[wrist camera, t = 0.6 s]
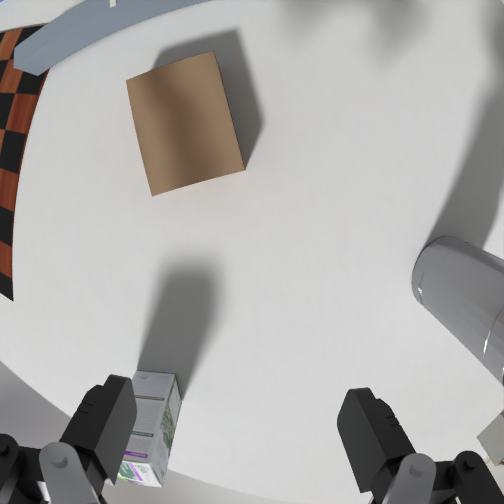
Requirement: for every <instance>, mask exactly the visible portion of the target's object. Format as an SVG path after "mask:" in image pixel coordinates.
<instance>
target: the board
mask: <svg viewBox="0 0 504 504" xmlns="http://www.w3.org/2000/svg"><path fill="white" fill-rule="evenodd" d="M205 1H210V0H87V1H85V2H83V3H81V4H79V5H77V6H76V7H74V8H72V9H70V10H69V11H67V12H65V13H64V14H62V15H61V16H59V17H57V18H56V19H54V20H53V21H51V22H50V23H48V24H47V25H45V26H44V27H42V28H41V29H39V30H38V31H36V32H35V33H34V34H32V35H31V36H30V37H28V38H27V39H26V40H24V41H23V42H22V43H20V44H19V45H18V46H17V47H15V48H14V68H16V69H19V70H22V71H25V72H28V73H31V74H34V75H37V76H39V75H40V74H42V73H43V72H45V71H46V70H48V69H49V68H51V67H52V66H54V65H55V64H57V63H59V62H60V61H62V60H63V59H65V58H67V57H68V56H70V55H72V54H74V53H75V52H77V51H79V50H81V49H83V48H85V47H86V46H88V45H90V44H92V43H94V42H96V41H98V40H100V39H102V38H104V37H106V36H108V35H110V34H113V33H115V32H117V31H119V30H122V29H124V28H126V27H129V26H131V25H134V24H136V23H139V22H141V21H144V20H146V19H149V18H152V17H155V16H157V15H160V14H163V13H166V12H169V11H173V10H176V9H179V8H183V7H186V6H190V5H193V4H197V3H201V2H205Z"/></svg>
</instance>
